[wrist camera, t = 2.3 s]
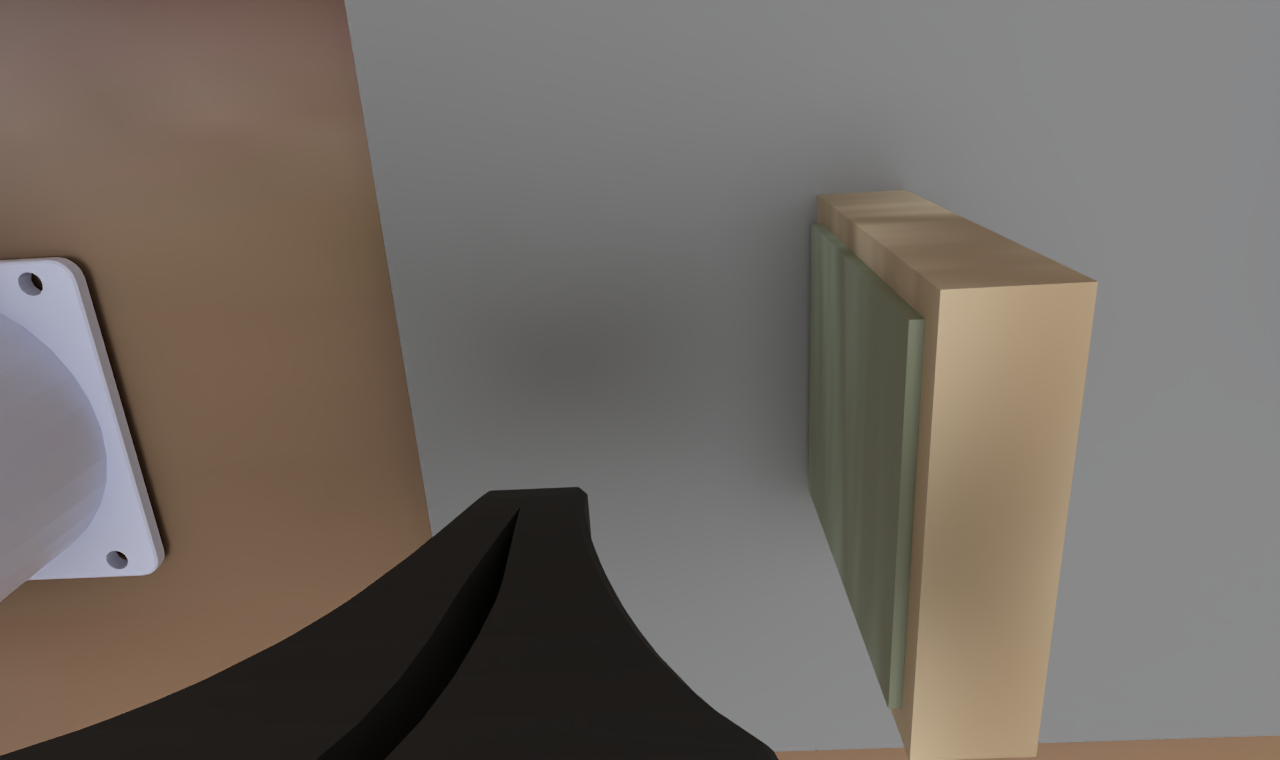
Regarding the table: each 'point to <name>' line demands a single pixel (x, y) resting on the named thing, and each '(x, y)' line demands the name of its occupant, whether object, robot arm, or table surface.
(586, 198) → the mat
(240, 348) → the table surface
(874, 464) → the plaque
